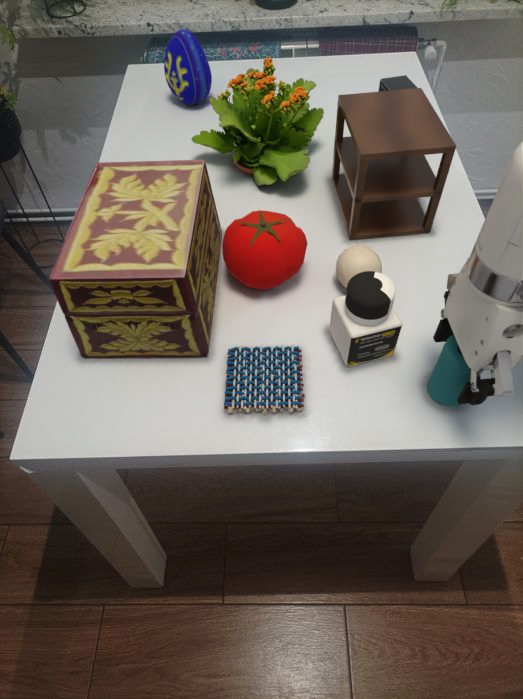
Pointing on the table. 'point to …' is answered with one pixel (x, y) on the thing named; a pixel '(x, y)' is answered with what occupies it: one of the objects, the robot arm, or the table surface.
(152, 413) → the table surface
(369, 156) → the rack
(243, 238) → the tomato
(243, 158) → the potted flower
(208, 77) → the ornament
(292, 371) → the woven mat
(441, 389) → the teal cylinder
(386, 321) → the medicine bottle
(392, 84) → the box
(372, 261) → the cream round ball
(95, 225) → the decorative box
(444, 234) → the table surface
